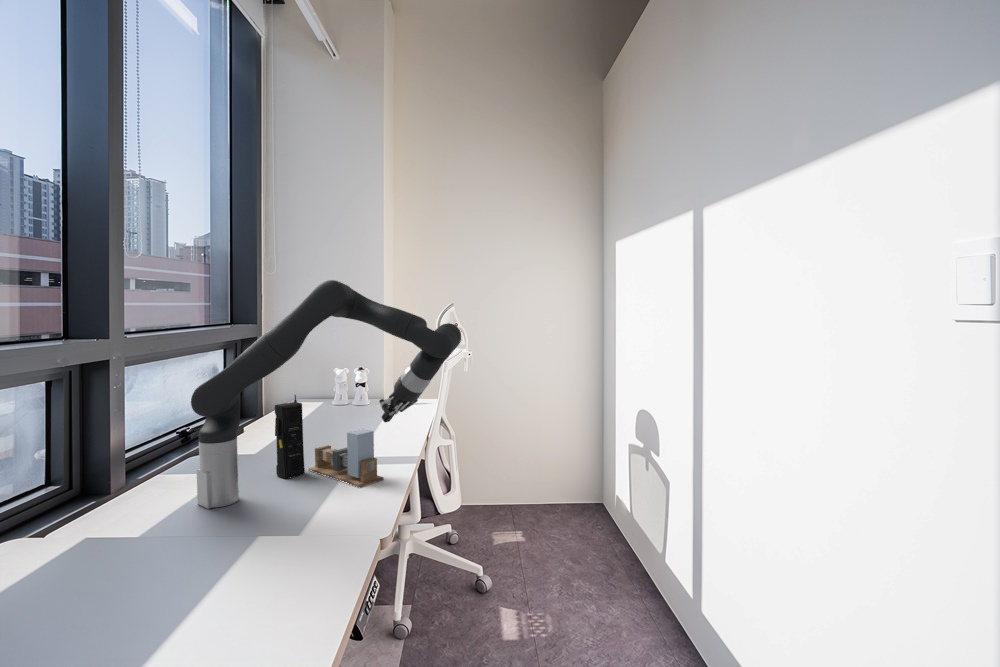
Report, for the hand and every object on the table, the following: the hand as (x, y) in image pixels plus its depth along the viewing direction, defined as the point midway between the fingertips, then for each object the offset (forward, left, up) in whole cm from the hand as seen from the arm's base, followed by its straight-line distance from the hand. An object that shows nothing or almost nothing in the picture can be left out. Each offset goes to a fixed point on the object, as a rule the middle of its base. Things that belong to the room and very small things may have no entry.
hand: (384, 419), depth 156 cm
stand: (+1, +21, -21) cm, 29 cm away
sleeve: (+1, +13, -19) cm, 23 cm away
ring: (+1, +22, -19) cm, 29 cm away
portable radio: (-10, +34, -21) cm, 41 cm away
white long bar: (+1, +21, -17) cm, 27 cm away
